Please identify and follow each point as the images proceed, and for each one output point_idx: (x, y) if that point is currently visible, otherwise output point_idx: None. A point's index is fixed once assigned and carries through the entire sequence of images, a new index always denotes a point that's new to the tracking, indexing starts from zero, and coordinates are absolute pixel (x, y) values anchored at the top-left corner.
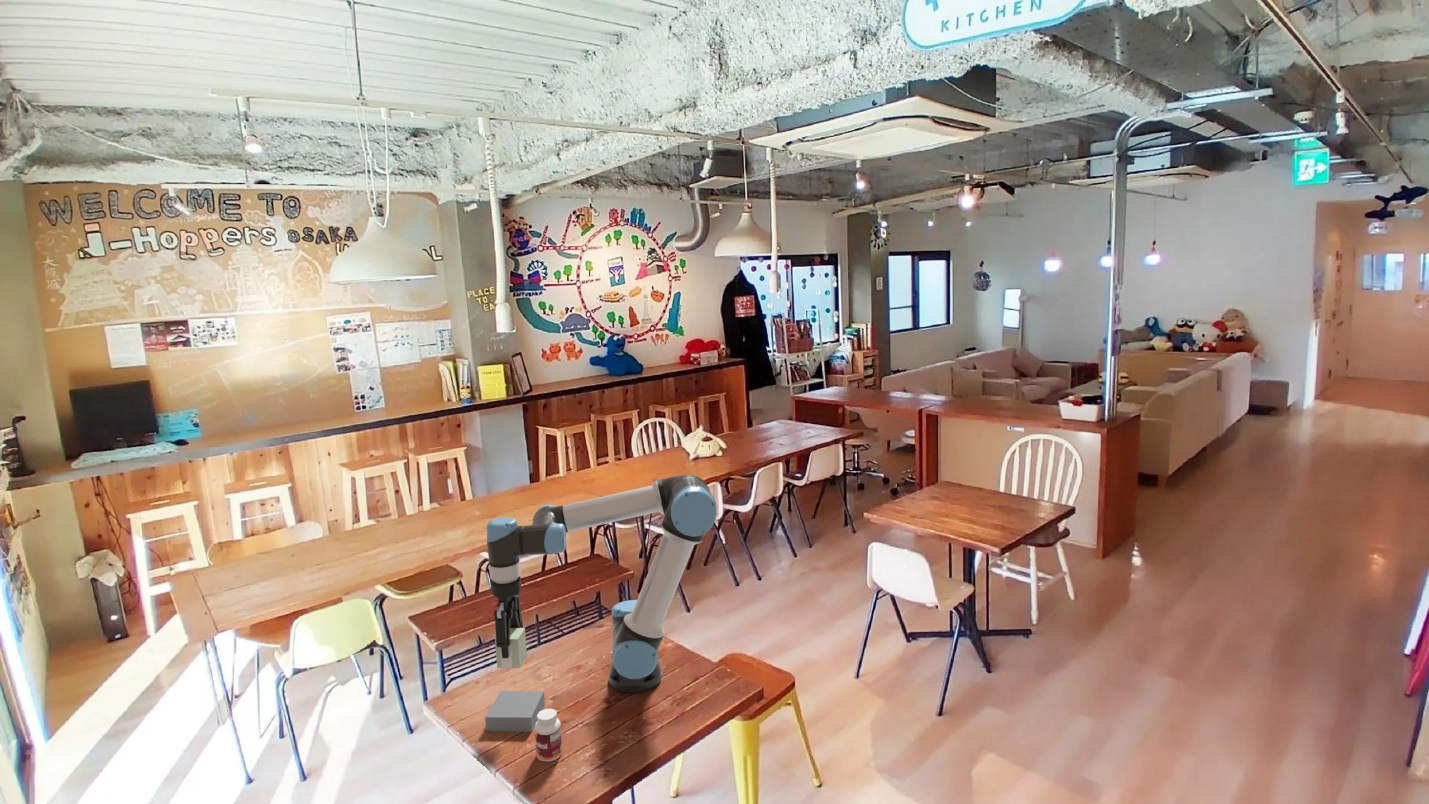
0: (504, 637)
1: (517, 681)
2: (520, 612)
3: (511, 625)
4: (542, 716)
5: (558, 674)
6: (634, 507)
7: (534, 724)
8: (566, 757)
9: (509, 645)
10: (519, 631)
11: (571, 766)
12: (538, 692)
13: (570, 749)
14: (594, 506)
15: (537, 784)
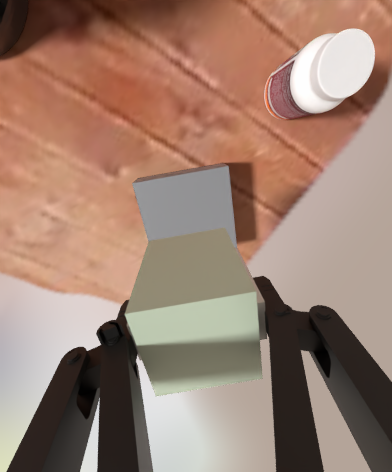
0: (369, 358)
1: (87, 261)
2: (40, 423)
3: (137, 379)
4: (357, 74)
5: (32, 198)
6: None
7: (207, 166)
8: (295, 47)
9: (264, 304)
10: (169, 321)
11: (324, 20)
12: (140, 192)
13: (270, 49)
14: None
15: (371, 76)
